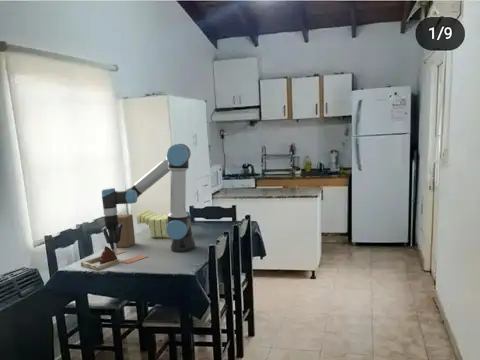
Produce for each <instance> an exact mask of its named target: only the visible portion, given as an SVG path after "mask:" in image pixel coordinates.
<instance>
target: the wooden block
mask: <svg viewBox="0 0 480 360" xmlns="http://www.w3.org/2000/svg"><path fill="white" fill-rule="evenodd" d="M117 215H118V222H119V224H122V225H123V226H122V228H121V237H120V241H118V243H117V246H118V248H130V247H131V246H133V245H135V243H136V238H135V237H136V236H135V228H134V227H135V226H134V217H133V214H132V213H131V214H130V213H128V214H126V213H125V214H124V213H123V214H117Z"/></svg>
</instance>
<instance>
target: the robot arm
mask: <svg viewBox="0 0 480 360" xmlns="http://www.w3.org/2000/svg"><path fill="white" fill-rule="evenodd" d="M191 156H192V155H191V149H190V148H189V147H188V145H186V144H185V143H177V144H172V145H171V146H170V147H169V148H168V149H167V151H166V155H165V158H164V159H163V160H162V161H160V162H159V163H158V164H157V165H155V166H154V167H152V169H150V170H149V171H148V172H147V173H146V174H145V175H143V176H142V177H141V178H140V179H138V181H136V182H135V183H134V184H132V185H131V186H130V187H129V188H127V189H126V190H125V189H124V190H119V191H118V190H116V189H115V187H107V188H106V187H105V188H102V190H101V201H102V209H103V218H104V223H105V224H104V227H103V228H102V227H101V229H100V230H101V231H102V232H103V235H104V239H105V241H106V244H109V245H110V249H111V250H112V251H113V252H114V253H115V256H117V255H116V254H117V250H118V248H119V247H118V246H117V243H118V241H120V237H121V228H122V226H123V225H122V224H119V222H118V215H119V214H118V206H117V205H127V204H128V205H129V204H130V205H131V204H136V203H137V201H138V198H139V197H140V196H141V195H142V194H143V193H145V192H146V191H147V190H149V189H150V188H151V187H152V186H154V185H155V184H156V183H157V182H159V180H161V179H162V178H163V177H165V176H166V175H167V174H168V173H169V172H170V199H169V200H170V209H169V210H170V212H169V213H168V214H167V215H168V224H167V227H166V232H167V234H168V236H169V237H168V238H170V239H172V240H171V245H170V250H171V251H172V252H175V253H184V252H190V251H192V250H195V249H196V247H197V245H196V242H195V240H194V237H193V232H192V221H191V213H190V212H189V211H186V212H185V208H186V199H187V198H186V190H187V189H186V188H187V187H186V186H187V183H186V180H187V179H186V178H187V177H186V175H187V170H188V169H189V165H190V163H189V159H190V158H191Z"/></svg>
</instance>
